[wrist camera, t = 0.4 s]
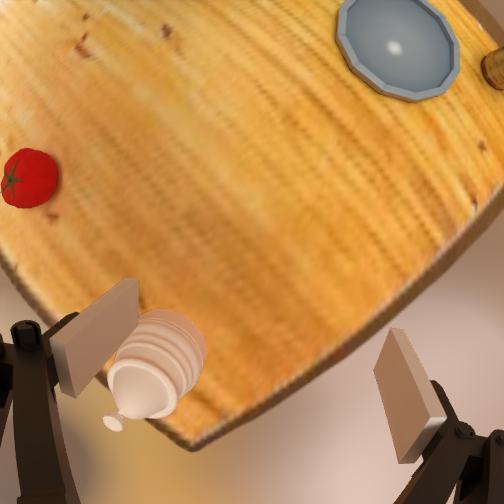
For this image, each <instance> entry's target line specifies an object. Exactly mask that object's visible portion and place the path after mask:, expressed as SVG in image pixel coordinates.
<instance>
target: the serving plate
mask: <svg viewBox="0 0 504 504" xmlns="http://www.w3.org/2000/svg"><path fill="white" fill-rule="evenodd" d="M335 40H336V43H337V44H338V46H339V48H340V50H341V52H342V54H343V56H344V58H345V60H346V62H347V64H348V66H349V68H350V70H351V71H352V72H353V73H354V74H356V75H357V76H358V77H359V78H361V79H362V80H363V81H364V82H365V83H367V84H368V85H369V86H370V87H371V88H373V89H374V90H375V91H376V92H377V93H379V94H381V95H385V96H389V97H393V98H396V99H400V100H403V101H406V102H410V103H413V102H417V101H421V100H424V99H428V98H432V97H436V96H439V95H442V94H444V93H445V92H446V91H447V90H448V88H449V87H450V85H451V84H452V83H453V81H454V80H455V78H456V77H457V75H458V74H459V72H460V51H459V42H458V40H457V39H456V37H455V35H454V33H453V31H452V29H451V27H450V25H449V23H448V21H447V20H446V18H445V16H444V15H443V14H442V13H441V12H440V11H438V10H437V9H436V8H435V7H434V6H433V5H431V4H430V3H429V2H428V1H427V0H346V1H345V2H344V3H343V4H342V5H341V6H340V8H339V11H338V15H337V27H336V38H335Z"/></svg>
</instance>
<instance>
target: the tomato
mask: <svg viewBox="0 0 504 504" xmlns="http://www.w3.org/2000/svg"><path fill="white" fill-rule="evenodd" d="M56 181H57V170H56V167H55V164H54V161H53V160H52V159H51V157H50V156H49V155H48V154H47V153H44V152H41V151H37V150H33V149H31V148H24V149H20V150H19V151H18V152H16V153H15V154H14V155H13V156H11V157H10V159H9V160H8V161H7V163H6V164H5V167H4V177H3V179H2V182H1V192H2V196H3V198H4V200H5V202H6V203H7V204H9V205H12V206H15V207H17V208H33V207H36V206H38V205H41V204H43V203H44V202H45V201H47V200H48V199H49V198H50V197H51V195H52V193H53V191H54V189H55V187H56Z"/></svg>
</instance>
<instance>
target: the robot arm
mask: <svg viewBox="0 0 504 504" xmlns="http://www.w3.org/2000/svg"><path fill="white" fill-rule="evenodd" d="M138 300H139V280H137V279H133V278H129V277H125V278H124V279H123V280H121V281H120V282H119V283H118V284H116V285H115V286H114V287H112V288H111V289H110V290H109V291H107V292H106V293H105V294H104V295H102V296H101V297H100V298H99V299H97V300H96V301H95V302H94V303H92V304H91V305H90V306H89V307H87V308H86V309H85V310H84V311H82V312H81V313H78V312H74V313H71V314H69V315H66V316H65V317H64V318H63V319H61V320H60V322H58V323H56V324H55V326H53V327H51V328H50V329H49V330H48V331H46V332H45V333H44V334H43V335H42V334H41V329H40V326H39V324H38V323H37V322H35V321H31V320H24V321H20V322H17V323H15V324H14V325H13V326H12V327H11V329H10V331H11V335H12V339H13V343H14V344H9V343H4V342H3V338H2V335H1V334H0V446H1V442H2V437H3V433H4V429H5V425H6V421H7V417H8V414H9V410H10V406H11V403H12V399H13V424H14V440H15V451H16V461H17V469H18V477H19V484H20V489H21V496H20V497H18V498H17V504H81V503H80V500H79V497H78V493H77V490H76V487H75V483H74V480H73V477H72V473H71V469H70V465H69V461H68V457H67V453H66V448H65V444H64V439H63V435H62V430H61V424H60V419H59V413H58V408H57V401H56V394H55V390H54V387H55V386H56V384H57V383H58V382H59V385H60V389H61V392H62V393H64V394H66V395H68V396H71V397H73V398H75V399H76V398H77V397H78V395H79V394H80V393H81V392H82V391H83V390H84V388H85V387H86V386H87V385H88V384H89V382H90V381H91V380H92V379H93V378H94V376H95V375H96V374H97V373H98V372H99V370H100V369H101V368H102V367H103V366H104V365H105V363H106V362H107V361H108V360H109V359H110V357H111V356H112V355H113V354H114V353H115V352H116V350H117V349H118V348H119V347H120V346H121V345H122V344H123V342H124V341H125V340H126V339H127V338H128V337H129V335H130V334H131V333H132V332H133V331H134V330H135V329H136V327H137V326H138V325H139V313H138ZM373 371H374V374H375V378H376V381H377V384H378V388H379V391H380V395H381V398H382V402H383V405H384V409H385V413H386V416H387V419H388V424H389V427H390V431H391V435H392V439H393V443H394V447H395V451H396V455H397V459H398V463H399V464H406V463H407V464H409V463H415V462H416V461H417V459H418V458H419V457H420V455H421V454H422V457H423V460H424V461H423V463H422V464H421V465H420V466H419V468H418V469H417V470H416V472H414V474H413V475H412V478H411V480H410V481H409V483H408V484H407V486H406V487H405V489H404V490H403V491H402V493H401V494H400V495H399V497H398V498H397V500H396V501H395V502H394V504H446V502H447V501H448V499H449V497H450V495H451V493H452V491H453V489H454V487H455V485H456V490H455V495H454V501H453V504H504V431H503V430H499V429H497V430H494V431H493V432H492V433H491V434H490V436H489V437H482V436H478V435H476V434H475V431H474V429H473V428H472V427H471V426H470V425H468V424H467V423H464V422H461V421H459V420H458V418H457V416H456V414H455V411H454V409H453V407H452V406H451V404H450V402H449V399H448V397H447V396H446V394H445V392H444V390H443V388H442V387H441V386H440V385H439V384H438V383H437V382H436V381H435V380H429V378H428V376H427V374H426V372H425V370H424V368H423V366H422V364H421V362H420V360H419V358H418V356H417V354H416V352H415V351H414V349H413V347H412V345H411V343H410V341H409V339H408V337H407V336H406V334H405V332H404V330H403V329H396V328H390V330H389V332H388V335H387V338H386V340H385V343H384V345H383V348H382V350H381V353H380V355H379V358H378V360H377V363H376V365H375V368H374V370H373ZM456 483H457V484H456Z"/></svg>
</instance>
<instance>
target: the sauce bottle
mask: <svg viewBox="0 0 504 504" xmlns="http://www.w3.org/2000/svg"><path fill="white" fill-rule="evenodd" d="M482 63H483V65H482V69H483V73H484V75H485V77H486V79H487V81H488V82H489V83H490V85H492V86H493V87H494V88H497V89H499V90H504V46H503V47H500V48H498V49H496V50H494V51H492V52H490V53H489V54H488V55H487V56H485V57H484V59H483V62H482Z"/></svg>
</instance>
